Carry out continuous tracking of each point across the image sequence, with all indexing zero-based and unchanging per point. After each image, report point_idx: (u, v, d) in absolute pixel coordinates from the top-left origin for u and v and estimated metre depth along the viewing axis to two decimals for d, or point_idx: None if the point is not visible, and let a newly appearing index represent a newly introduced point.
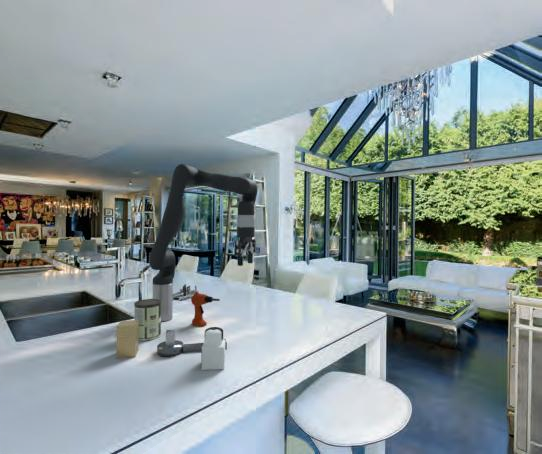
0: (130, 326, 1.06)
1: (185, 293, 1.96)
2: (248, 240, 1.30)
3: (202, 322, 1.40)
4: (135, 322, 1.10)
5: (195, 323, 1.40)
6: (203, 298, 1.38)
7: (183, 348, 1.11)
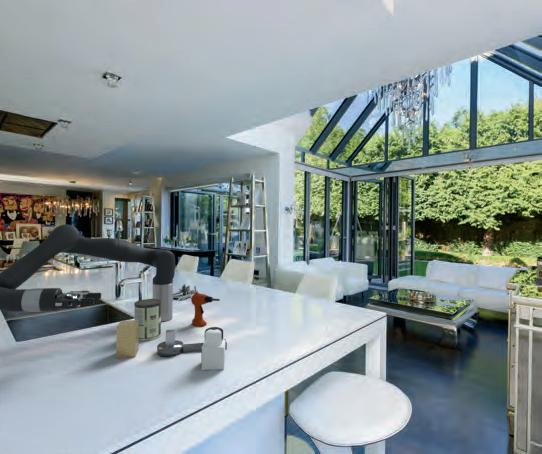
0: (130, 326, 1.06)
1: (184, 293, 1.96)
2: None
3: (202, 322, 1.40)
4: (135, 322, 1.10)
5: (195, 323, 1.40)
6: (203, 298, 1.38)
7: (183, 348, 1.11)
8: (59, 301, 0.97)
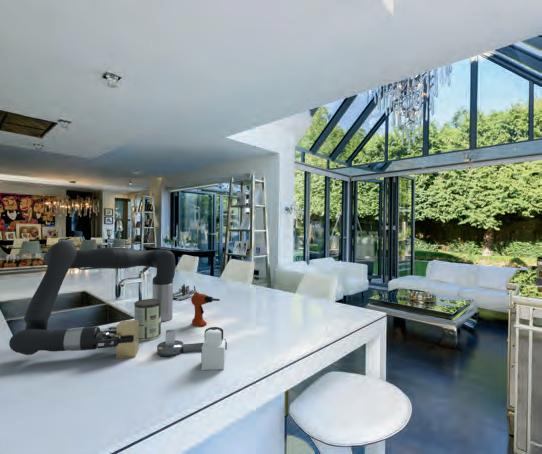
0: (130, 326, 1.06)
1: (184, 293, 1.96)
2: None
3: (202, 322, 1.40)
4: (135, 322, 1.10)
5: (195, 323, 1.40)
6: (203, 298, 1.38)
7: (183, 348, 1.11)
8: (101, 341, 1.01)
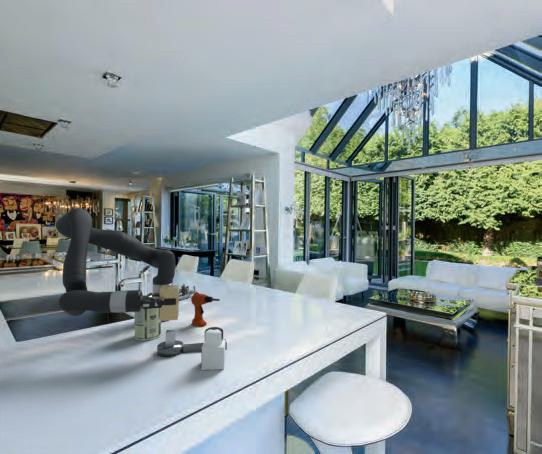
0: (173, 289, 1.08)
1: (184, 293, 1.96)
2: None
3: (202, 322, 1.40)
4: (176, 286, 1.12)
5: (195, 323, 1.40)
6: (203, 298, 1.38)
7: (183, 348, 1.11)
8: (147, 302, 1.03)
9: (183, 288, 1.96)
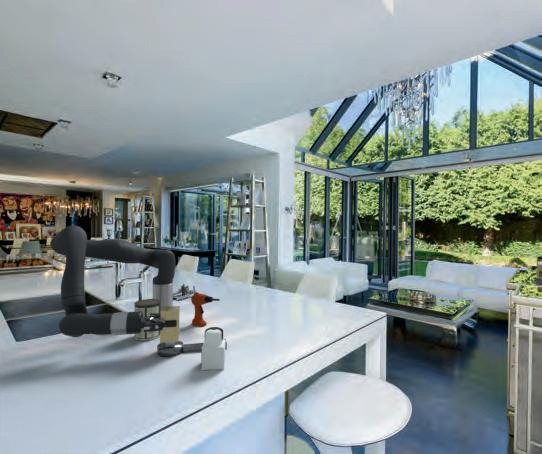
0: (174, 311, 1.09)
1: (183, 293, 1.96)
2: None
3: (202, 322, 1.40)
4: (177, 308, 1.12)
5: (195, 323, 1.40)
6: (203, 298, 1.38)
7: (183, 348, 1.11)
8: (148, 325, 1.03)
9: (183, 288, 1.96)
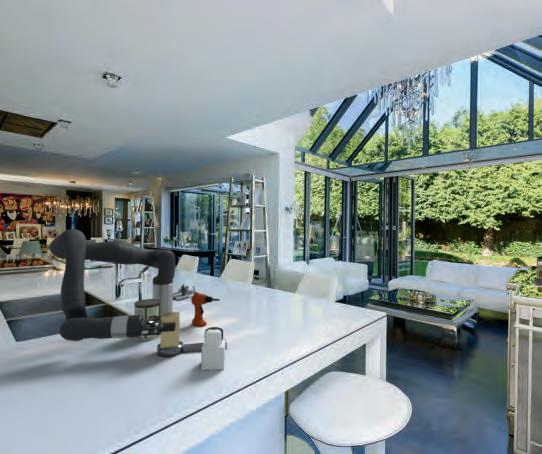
0: (174, 317, 1.09)
1: (183, 293, 1.96)
2: None
3: (202, 322, 1.40)
4: (177, 313, 1.12)
5: (195, 323, 1.40)
6: (203, 298, 1.38)
7: (183, 348, 1.11)
8: (146, 329, 1.03)
9: (183, 288, 1.96)
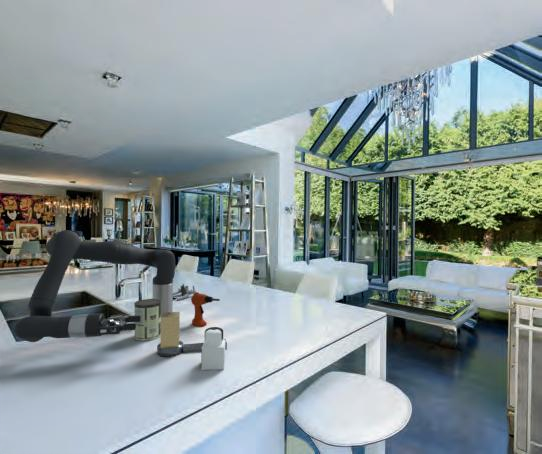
0: (174, 317, 1.09)
1: (183, 293, 1.96)
2: None
3: (202, 322, 1.40)
4: (177, 313, 1.12)
5: (195, 323, 1.40)
6: (203, 298, 1.38)
7: (183, 348, 1.11)
8: (104, 328, 1.00)
9: (182, 288, 1.96)
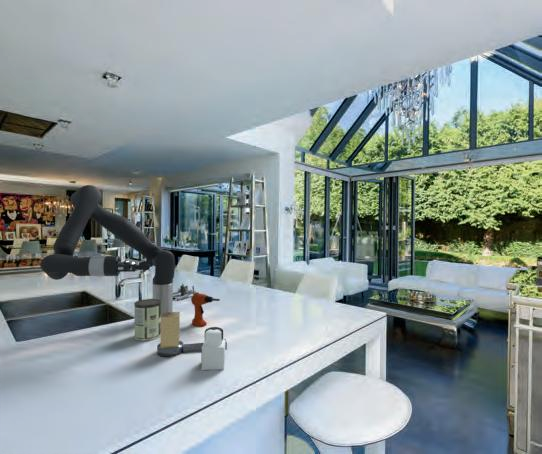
0: (174, 317, 1.09)
1: (183, 293, 1.96)
2: None
3: (202, 322, 1.40)
4: (177, 313, 1.12)
5: (195, 323, 1.40)
6: (203, 298, 1.38)
7: (183, 348, 1.11)
8: (121, 265, 1.10)
9: (182, 288, 1.96)
